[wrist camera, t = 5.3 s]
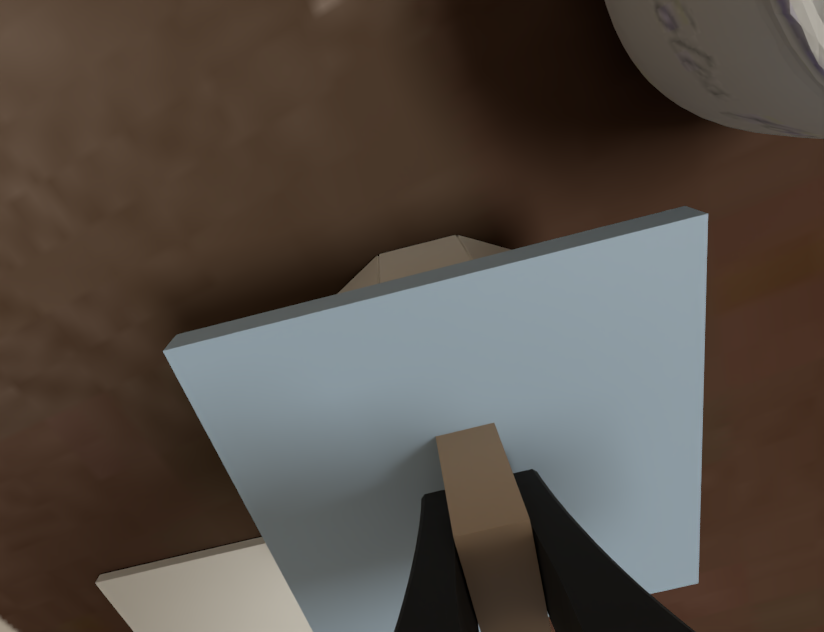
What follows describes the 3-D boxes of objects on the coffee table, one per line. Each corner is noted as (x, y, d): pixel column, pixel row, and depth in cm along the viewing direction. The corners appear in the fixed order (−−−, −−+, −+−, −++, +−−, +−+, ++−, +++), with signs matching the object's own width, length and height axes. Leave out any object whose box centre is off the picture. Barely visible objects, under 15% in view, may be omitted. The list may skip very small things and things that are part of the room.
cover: (683, 560, 16) (770, 691, 12) (333, 639, 16) (321, 787, 13) (684, 206, 11) (834, 255, 7) (176, 334, 11) (85, 440, 8)
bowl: (589, 441, 20) (637, 519, 16) (356, 496, 20) (352, 584, 16) (565, 206, 15) (623, 239, 12) (272, 281, 16) (241, 335, 12)
